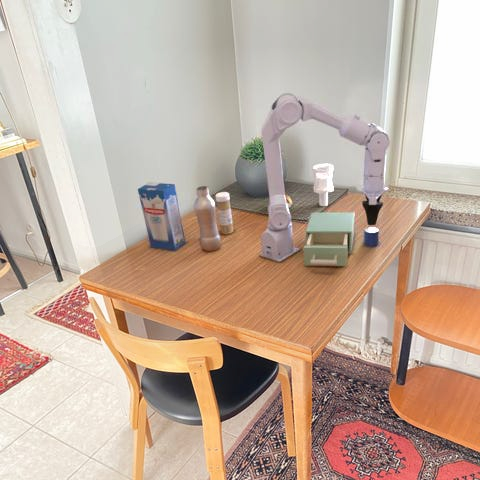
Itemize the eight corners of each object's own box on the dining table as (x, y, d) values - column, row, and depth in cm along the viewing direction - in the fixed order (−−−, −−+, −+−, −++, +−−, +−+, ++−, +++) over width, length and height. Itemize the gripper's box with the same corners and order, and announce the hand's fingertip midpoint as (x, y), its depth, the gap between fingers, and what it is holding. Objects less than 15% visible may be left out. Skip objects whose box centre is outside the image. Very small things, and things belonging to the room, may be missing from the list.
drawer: (345, 274, 131) (346, 256, 128) (301, 273, 134) (301, 255, 131) (350, 245, 145) (350, 227, 142) (310, 244, 148) (309, 227, 145)
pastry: (278, 214, 173) (278, 204, 171) (264, 211, 177) (263, 201, 175) (294, 205, 179) (293, 195, 176) (279, 202, 183) (278, 193, 180)
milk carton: (150, 247, 161) (137, 188, 150) (161, 239, 166) (149, 182, 155) (175, 250, 157) (163, 190, 146) (185, 242, 161) (174, 184, 150)
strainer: (321, 209, 172) (321, 167, 164) (309, 204, 178) (308, 163, 169) (337, 204, 175) (337, 163, 166) (325, 199, 180) (325, 159, 172)
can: (373, 247, 144) (374, 233, 141) (361, 244, 146) (361, 230, 144) (380, 242, 146) (381, 228, 144) (368, 239, 149) (369, 225, 146)
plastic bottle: (219, 253, 152) (210, 191, 141) (198, 253, 153) (188, 192, 142) (223, 244, 157) (215, 184, 146) (204, 244, 159) (194, 184, 147)
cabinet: (351, 254, 142) (351, 231, 138) (306, 253, 145) (305, 231, 141) (354, 233, 153) (354, 212, 149) (312, 233, 157) (311, 212, 153)
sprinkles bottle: (228, 228, 168) (223, 190, 160) (236, 231, 165) (231, 193, 157) (217, 232, 165) (212, 194, 158) (225, 236, 162) (220, 197, 155)
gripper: (389, 181, 127) (386, 229, 135) (389, 164, 139) (386, 209, 146) (361, 182, 129) (360, 229, 137) (364, 165, 141) (362, 210, 148)
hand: (372, 219), depth 142 cm, fingers open, 7 cm apart
